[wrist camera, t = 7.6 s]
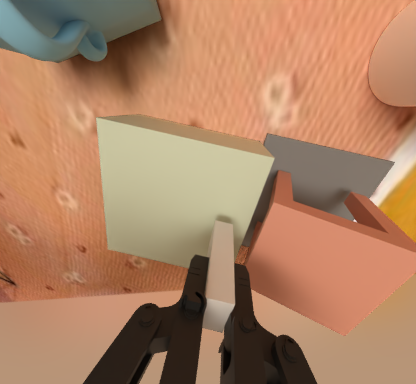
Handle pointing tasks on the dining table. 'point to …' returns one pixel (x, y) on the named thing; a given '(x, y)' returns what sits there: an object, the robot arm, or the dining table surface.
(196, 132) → the step block
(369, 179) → the mat
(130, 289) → the dining table surface
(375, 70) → the cup
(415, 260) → the stool
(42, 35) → the teapot
